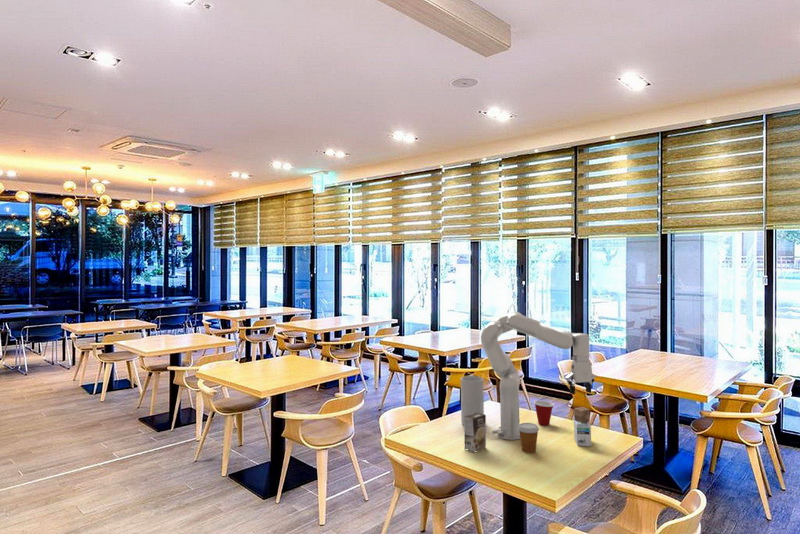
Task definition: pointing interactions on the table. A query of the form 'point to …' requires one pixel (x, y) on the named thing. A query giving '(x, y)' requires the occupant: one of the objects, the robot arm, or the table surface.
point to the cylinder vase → (471, 396)
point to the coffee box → (475, 431)
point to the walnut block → (581, 414)
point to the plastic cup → (543, 412)
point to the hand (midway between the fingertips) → (580, 393)
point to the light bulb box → (582, 433)
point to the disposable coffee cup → (528, 437)
